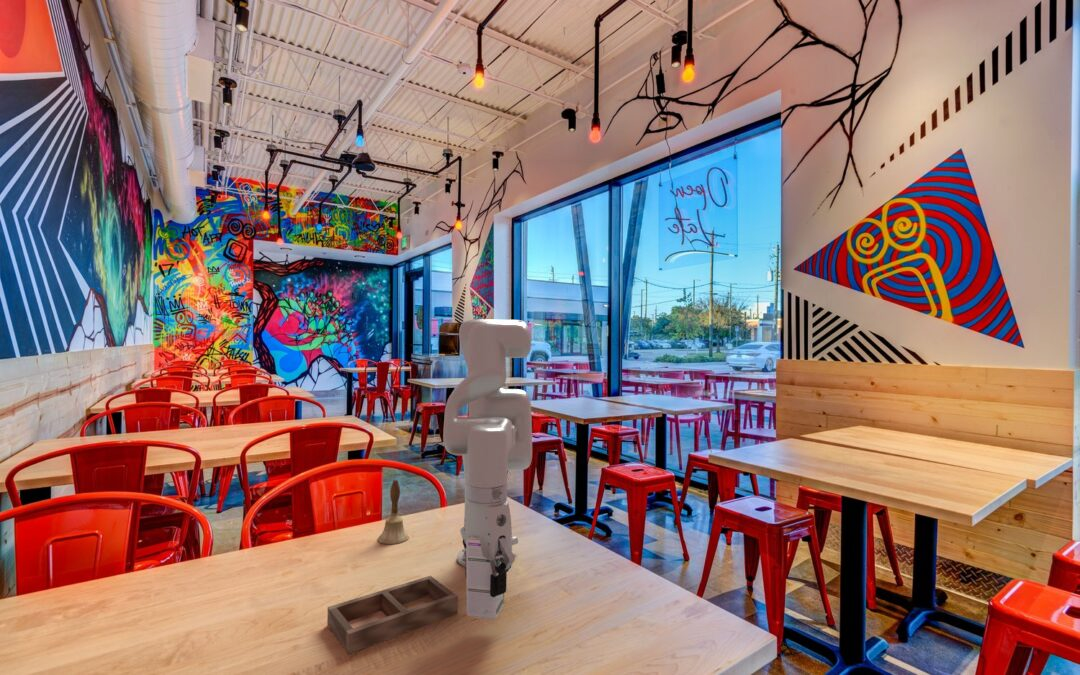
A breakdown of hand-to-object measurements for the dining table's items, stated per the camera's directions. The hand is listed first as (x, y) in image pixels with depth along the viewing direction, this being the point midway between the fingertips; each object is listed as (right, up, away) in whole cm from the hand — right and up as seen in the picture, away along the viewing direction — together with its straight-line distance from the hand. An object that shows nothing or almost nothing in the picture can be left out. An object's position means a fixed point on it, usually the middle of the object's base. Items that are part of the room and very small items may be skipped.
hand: (485, 584), depth 97 cm
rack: (-18, -9, +4) cm, 21 cm away
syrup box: (0, -5, 0) cm, 5 cm away
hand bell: (-30, -9, +45) cm, 54 cm away
